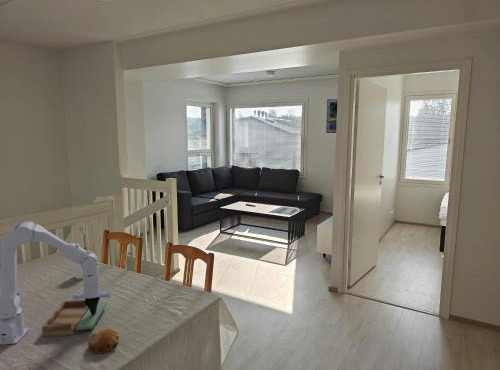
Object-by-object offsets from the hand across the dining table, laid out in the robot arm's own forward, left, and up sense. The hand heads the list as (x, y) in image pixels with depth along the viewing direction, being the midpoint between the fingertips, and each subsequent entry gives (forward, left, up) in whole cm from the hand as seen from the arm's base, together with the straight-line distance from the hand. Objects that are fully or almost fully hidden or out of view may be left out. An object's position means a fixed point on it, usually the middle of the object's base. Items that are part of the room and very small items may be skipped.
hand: (94, 314), depth 141 cm
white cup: (+45, +21, -3) cm, 50 cm away
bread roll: (-18, -9, -3) cm, 21 cm away
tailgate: (0, +4, 0) cm, 4 cm away
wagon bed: (0, +10, -2) cm, 10 cm away
